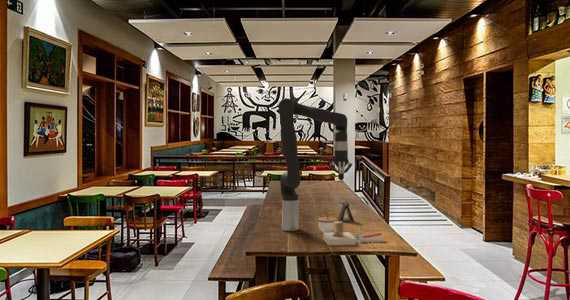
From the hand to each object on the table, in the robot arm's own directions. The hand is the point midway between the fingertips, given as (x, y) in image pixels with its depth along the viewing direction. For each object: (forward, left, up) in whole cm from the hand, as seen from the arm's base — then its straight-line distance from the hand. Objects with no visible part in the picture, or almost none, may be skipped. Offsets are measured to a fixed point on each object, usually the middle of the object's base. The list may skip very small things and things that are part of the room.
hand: (341, 180), depth 244 cm
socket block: (-6, -22, -29) cm, 37 cm away
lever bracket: (+10, -22, -29) cm, 38 cm away
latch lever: (+10, -22, -27) cm, 36 cm away
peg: (-6, -22, -29) cm, 37 cm away
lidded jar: (-8, -2, -29) cm, 30 cm away
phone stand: (+9, +28, -29) cm, 42 cm away
